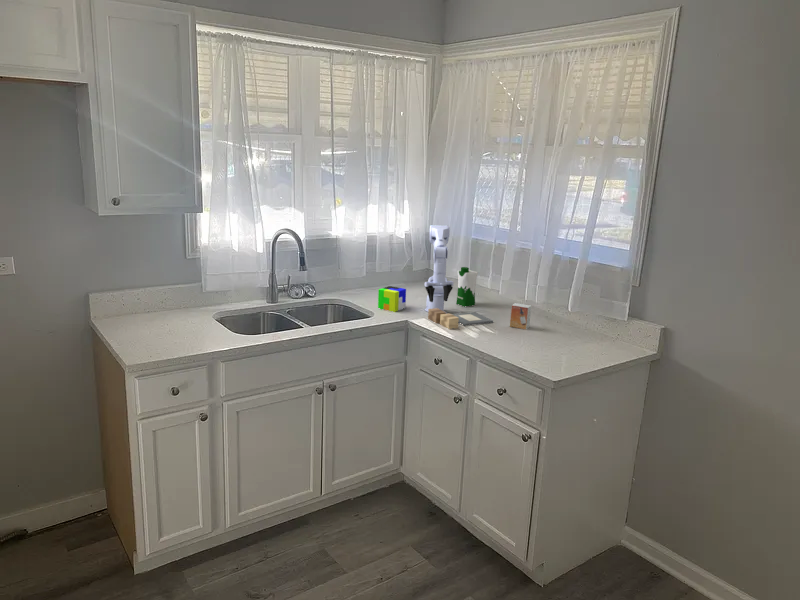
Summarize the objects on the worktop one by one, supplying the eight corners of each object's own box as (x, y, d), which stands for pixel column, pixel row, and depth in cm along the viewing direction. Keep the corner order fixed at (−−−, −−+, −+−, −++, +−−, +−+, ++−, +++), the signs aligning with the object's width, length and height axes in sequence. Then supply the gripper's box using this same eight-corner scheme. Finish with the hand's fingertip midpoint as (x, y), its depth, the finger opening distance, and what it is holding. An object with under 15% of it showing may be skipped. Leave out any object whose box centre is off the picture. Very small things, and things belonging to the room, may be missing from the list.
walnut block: (428, 319, 292) (428, 309, 291) (437, 318, 294) (437, 308, 293) (435, 323, 285) (436, 313, 284) (445, 322, 287) (445, 312, 286)
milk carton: (453, 303, 321) (455, 266, 316) (466, 302, 326) (469, 265, 321) (464, 307, 314) (466, 269, 309) (477, 305, 319) (480, 268, 314)
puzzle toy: (405, 308, 310) (406, 289, 307) (394, 312, 302) (395, 292, 299) (389, 304, 315) (389, 286, 312) (378, 308, 307) (378, 289, 304)
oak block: (439, 324, 284) (440, 314, 282) (449, 323, 286) (449, 313, 284) (448, 329, 277) (449, 318, 275) (458, 328, 279) (458, 317, 277)
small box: (509, 327, 283) (511, 305, 281) (513, 324, 288) (514, 302, 285) (526, 329, 280) (528, 307, 277) (529, 326, 284) (531, 305, 282)
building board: (447, 316, 296) (447, 314, 296) (475, 313, 303) (475, 311, 303) (464, 325, 282) (464, 323, 282) (493, 322, 289) (493, 320, 289)
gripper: (430, 274, 278) (428, 303, 280) (457, 273, 284) (455, 302, 286) (422, 272, 284) (421, 300, 286) (449, 271, 290) (448, 299, 292)
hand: (438, 301), depth 287 cm, fingers open, 7 cm apart
